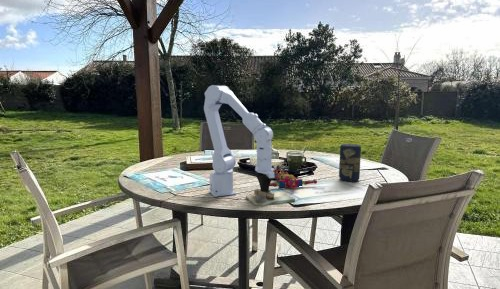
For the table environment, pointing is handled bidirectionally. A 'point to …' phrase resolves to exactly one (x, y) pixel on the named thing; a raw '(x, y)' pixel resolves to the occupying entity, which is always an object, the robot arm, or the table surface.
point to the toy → (288, 180)
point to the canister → (349, 162)
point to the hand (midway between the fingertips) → (264, 192)
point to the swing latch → (264, 193)
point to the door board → (278, 198)
